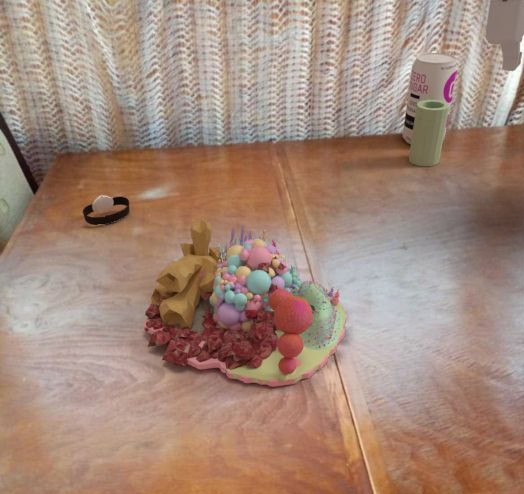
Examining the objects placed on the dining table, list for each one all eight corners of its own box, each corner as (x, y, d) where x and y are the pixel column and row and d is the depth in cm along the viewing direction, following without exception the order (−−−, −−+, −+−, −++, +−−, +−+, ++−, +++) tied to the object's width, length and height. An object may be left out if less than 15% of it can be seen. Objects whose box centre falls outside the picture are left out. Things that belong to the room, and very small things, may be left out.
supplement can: (449, 136, 109) (465, 54, 99) (435, 151, 104) (451, 65, 94) (410, 130, 112) (422, 50, 102) (395, 143, 107) (406, 60, 97)
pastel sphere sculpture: (114, 362, 62) (94, 297, 56) (188, 255, 79) (179, 196, 73) (329, 399, 56) (333, 331, 50) (359, 276, 73) (365, 214, 67)
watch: (125, 206, 91) (120, 185, 89) (136, 216, 88) (132, 196, 86) (81, 219, 88) (75, 199, 86) (91, 231, 85) (86, 210, 83)
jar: (438, 155, 102) (448, 100, 96) (439, 167, 98) (450, 110, 92) (408, 154, 103) (416, 99, 97) (408, 165, 99) (417, 109, 93)
